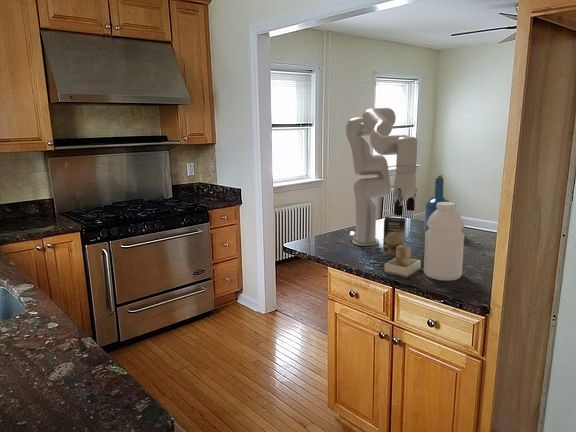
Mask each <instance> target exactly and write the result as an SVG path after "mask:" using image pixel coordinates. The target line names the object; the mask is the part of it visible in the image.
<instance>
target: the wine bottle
mask: <svg viewBox="0 0 576 432" xmlns="http://www.w3.org/2000/svg"><path fill="white" fill-rule="evenodd" d="M444 183H445V182H444V177H443V175H442V174H437V175H436V178H435V180H434V194H433V195H434V196H432V197H430V198H429V199H428V200H427V201H426V202H425V204H424V220H423V221H424V223H423V224H424V225H423V232H424V233H425V232H426V231H427V230H428V229H429V227H428V226H427V224H426V223H427V221H428V219H429V217H430V216H431V214H432V213H433V212H434V211H436V210H437V209H438V208H436V205H437V203H439V202H450V201H449V200H448V199H447V198H445V197H444Z"/></svg>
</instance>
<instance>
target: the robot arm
mask: <svg viewBox="0 0 576 432" xmlns="http://www.w3.org/2000/svg"><path fill="white" fill-rule="evenodd" d="M396 117H397V116H396V113H395V111H394V110H393V108H389V107H376V108H373V107H372V108H369V109H366V110H364V111H363V113H362V116H360V117H354V118H350V119H349V120H348V121H347V123H346V126H345V127H346V128H345V133H346V138H347V141H348V143H349V146H350V148H351V155H352V162H353V170H354V172H355V174H356V175H357V176H360V177H364V176H365V177H364V178H359V179H357V180H356V181H355V182H354V184H353V192H354V198H355V199H354V200H355V202H354V203H355V231H350V233H349V237H350V238H353V239H352V241H351V242H352V244H353V245H356V246H360V247H374V246H376V245H379V239H378V238H376V234H377V233H376V231H377V230H376V229H377V228H376V227H377V226H376V223H377V221H376V220H377V215H376V214H377V212H376V211H377V208H376V207H377V206H376V204H375V203H374V202H373V200H372V199H376V198H385V197H388V196H389V195H390V193H391V191H392V188H391V185H392V184H391V178H390V172H389V170H390V169H389V164H388V161H387V159H386V157H385V156H393V155H396V160H395V161H396V163H395V164H396V165H395V166H396V168H395V169H396V170H395V173H396V174H395V176H394V183H393V192H392V193H393V195H392V198H393V205H394V210H393V212H394V213H393V214H394V216H401V217H402V216H403V213H404V211H403V210H404V209H403V208H404V205H403V203H404V201H406V211H412V212H413V211H415V205H416V203H415V202H416V196H417V191H418V188H417V182H416V181H417V179H416V174H417V166H418V165H417V163H418V138H417V137H415V136H409V135H407V134H399V135H398V134H397V135H395V134H394V135H393V134H392V135H390V134H391V133H392V131H393V126H394V125H395V123H396V119H397V118H396ZM365 136H367V137H368V136H369V137H370V138H369V140H370V145H369V143H368V142H367V140H366V139H365V138H364V137H365ZM370 146H371V147H372V148H373V150H374V152H376V153H377V154H374V155H372V153H371V149H370ZM367 176H376V177H367Z"/></svg>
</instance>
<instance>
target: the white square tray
mask: <svg viewBox="0 0 576 432" xmlns="http://www.w3.org/2000/svg"><path fill="white" fill-rule="evenodd" d="M421 264H422V261H421V260H420V259H415V258H411V265H410V266H408V267H401V266H397V265H396V257H394V258H392V259H391V260H389V261H386V262H385V263H384V273H387V274H391V275H395V276H400V277H403V278H408V277H409V276H411V275H413V274H415V273H416V272H418V271H419V270H421V267H422V265H421Z"/></svg>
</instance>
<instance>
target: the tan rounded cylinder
mask: <svg viewBox="0 0 576 432" xmlns="http://www.w3.org/2000/svg"><path fill="white" fill-rule="evenodd" d="M411 256H412V246H409V245H405V246H404V245H399V246H397V247H396V256H395V258H396V265H397V266H401V267H408V266H410V265H411V259H412V258H411Z"/></svg>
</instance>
